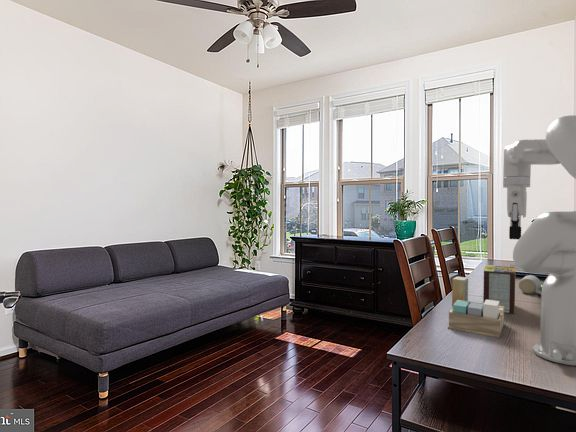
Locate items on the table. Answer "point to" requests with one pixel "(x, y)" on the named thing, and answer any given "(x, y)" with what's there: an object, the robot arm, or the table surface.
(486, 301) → the white rectangular block
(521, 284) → the ceramic mug
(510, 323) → the table surface
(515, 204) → the robot arm
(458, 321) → the tan wooden box
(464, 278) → the skincare box
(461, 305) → the teal key
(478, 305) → the slate key
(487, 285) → the protein box
